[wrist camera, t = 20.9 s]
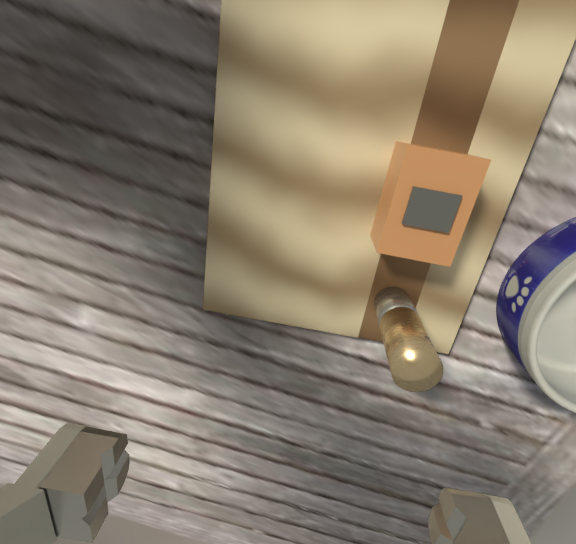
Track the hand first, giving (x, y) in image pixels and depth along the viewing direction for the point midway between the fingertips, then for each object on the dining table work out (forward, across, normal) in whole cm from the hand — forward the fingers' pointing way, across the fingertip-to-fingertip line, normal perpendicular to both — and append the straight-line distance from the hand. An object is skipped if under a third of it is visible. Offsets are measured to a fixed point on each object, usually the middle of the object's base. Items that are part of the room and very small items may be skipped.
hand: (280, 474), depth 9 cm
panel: (+22, -3, -4) cm, 23 cm away
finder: (+21, -7, -4) cm, 22 cm away
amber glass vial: (+20, -8, +5) cm, 23 cm away
